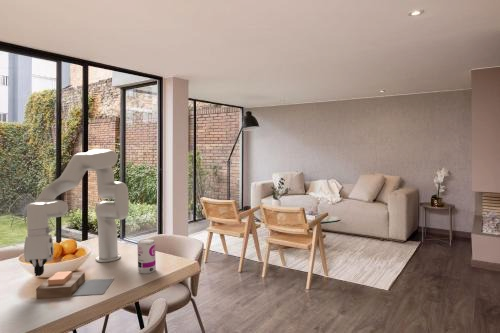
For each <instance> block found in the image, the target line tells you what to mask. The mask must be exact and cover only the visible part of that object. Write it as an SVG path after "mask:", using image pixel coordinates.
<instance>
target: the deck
mask: <svg viewBox="0 0 500 333" xmlns="http://www.w3.org/2000/svg"><path fill="white" fill-rule="evenodd" d="M55 274H56V273H53V274H52V275H51V276H49V277H48V278H47V279H46V280H45V281H44V282H42V283H41V284H40V285H39V286H38V287H36V289H35V292H36V294H35V295H36V299H47V298H49V299H51V298H64V297H65V298H66V297H69V298H70V297H73V296H72V295H73V294H74V293H75V292H76V291H77V290H78V289H79V287H80V286H81V285H82V284H83V283H84V282H85V281H86V275H85V274H86V273H85V271H81V272H78V271H77V272H72V276H71V277H70V278H69V279H68V280H67V281H66V282H65V283H64V284H53V285H48V280H49V279H50V278H51V277H52V276H53V275H55Z"/></svg>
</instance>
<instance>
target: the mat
mask: <svg viewBox="0 0 500 333" xmlns="http://www.w3.org/2000/svg"><path fill="white" fill-rule="evenodd" d="M114 279H115V278H99V279H98V278H97V279H85V281H84V282H83V284H82V285H81V286H80V287H79V288H78V289H77V290H76V291H75V292H74V294H73V295H72V296H71V297H83V296H84V297H85V296H95V295H97V296H98V295H104V294H105V293H106V291H107V289H109V287H110V286H111V284H112V283H113V281H114Z"/></svg>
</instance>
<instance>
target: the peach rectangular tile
mask: <svg viewBox="0 0 500 333" xmlns="http://www.w3.org/2000/svg"><path fill="white" fill-rule="evenodd" d="M72 273H73V271H70V270H69V271H68V270H67V271H57V272H56V273H54V274H55V275H53V274H52V275H53V276H52V275H51V276H52V277H51V276H50V277H51V278H50V277H49V278H50V279H49V280H48V285H53V284H64V283H65V282H66V281H67V280H68V279H69V278H70V277H71V276H72Z"/></svg>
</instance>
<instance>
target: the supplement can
mask: <svg viewBox="0 0 500 333" xmlns="http://www.w3.org/2000/svg"><path fill="white" fill-rule="evenodd" d="M156 262H157V261H156V243H155V240H154V239H153V238H144V239H140V240H138V243H137V271H138V273H139V274H144V275H145V274H146V275H148V274H151V273H154V272H155V270H156V269H157V267H156V266H157V264H156Z"/></svg>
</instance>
